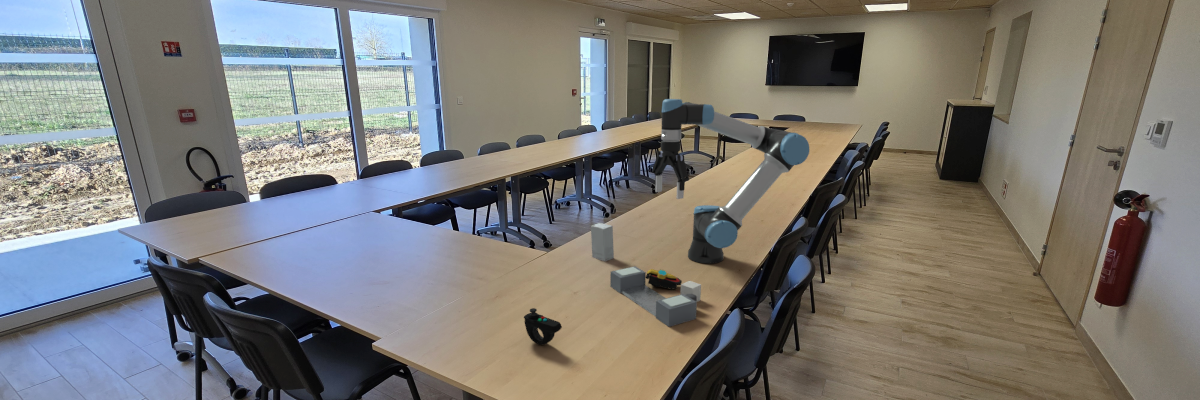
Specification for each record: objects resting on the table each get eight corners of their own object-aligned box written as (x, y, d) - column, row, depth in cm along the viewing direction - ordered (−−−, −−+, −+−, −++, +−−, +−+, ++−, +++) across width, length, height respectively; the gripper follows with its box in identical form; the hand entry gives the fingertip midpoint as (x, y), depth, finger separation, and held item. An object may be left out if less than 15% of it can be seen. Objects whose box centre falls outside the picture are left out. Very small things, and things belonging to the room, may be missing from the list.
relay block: (688, 296, 181) (689, 280, 180) (700, 300, 177) (701, 284, 176) (680, 300, 178) (680, 284, 176) (691, 304, 174) (692, 288, 173)
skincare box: (614, 258, 218) (614, 225, 214) (604, 262, 214) (604, 228, 210) (600, 254, 224) (600, 221, 220) (590, 257, 219) (590, 224, 216)
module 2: (682, 310, 170) (683, 293, 168) (695, 318, 164) (696, 301, 162) (655, 317, 164) (656, 300, 163) (668, 326, 158) (669, 308, 157)
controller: (531, 334, 154) (530, 304, 151) (564, 346, 147) (563, 315, 145) (522, 340, 150) (521, 310, 148) (554, 353, 144) (554, 321, 141)
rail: (636, 282, 192) (636, 279, 192) (690, 316, 165) (690, 313, 165) (614, 288, 187) (614, 285, 187) (666, 323, 160) (666, 320, 160)
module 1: (634, 280, 194) (635, 265, 193) (645, 287, 188) (645, 271, 187) (610, 286, 189) (610, 270, 187) (620, 293, 183) (620, 277, 182)
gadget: (678, 294, 185) (682, 280, 183) (643, 285, 186) (647, 271, 185) (679, 288, 191) (682, 274, 189) (645, 279, 192) (648, 265, 191)
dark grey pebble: (690, 306, 173) (691, 293, 172) (698, 311, 169) (699, 297, 168) (681, 309, 171) (682, 295, 170) (689, 313, 167) (689, 299, 166)
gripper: (644, 137, 200) (642, 189, 205) (683, 144, 179) (681, 202, 184) (659, 136, 204) (658, 187, 209) (700, 143, 182) (697, 200, 187)
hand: (669, 195), depth 196 cm, fingers open, 13 cm apart
